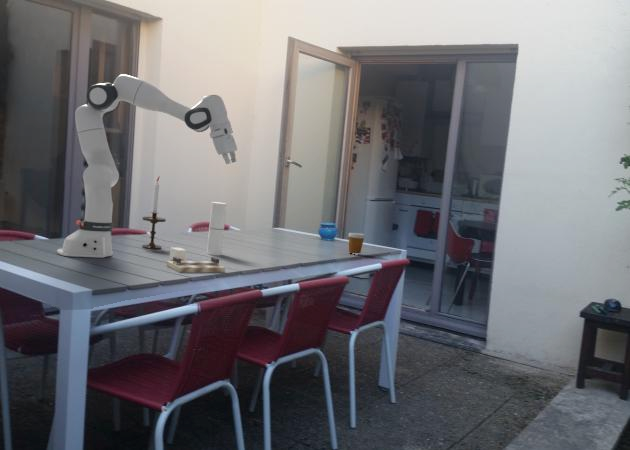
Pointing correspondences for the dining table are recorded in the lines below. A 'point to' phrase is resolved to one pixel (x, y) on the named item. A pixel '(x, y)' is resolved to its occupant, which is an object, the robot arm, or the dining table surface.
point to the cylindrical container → (216, 228)
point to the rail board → (196, 265)
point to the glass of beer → (355, 242)
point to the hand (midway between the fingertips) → (231, 163)
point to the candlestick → (154, 220)
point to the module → (178, 253)
